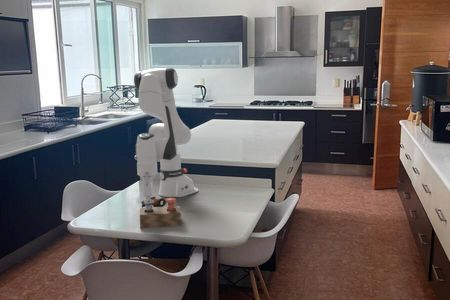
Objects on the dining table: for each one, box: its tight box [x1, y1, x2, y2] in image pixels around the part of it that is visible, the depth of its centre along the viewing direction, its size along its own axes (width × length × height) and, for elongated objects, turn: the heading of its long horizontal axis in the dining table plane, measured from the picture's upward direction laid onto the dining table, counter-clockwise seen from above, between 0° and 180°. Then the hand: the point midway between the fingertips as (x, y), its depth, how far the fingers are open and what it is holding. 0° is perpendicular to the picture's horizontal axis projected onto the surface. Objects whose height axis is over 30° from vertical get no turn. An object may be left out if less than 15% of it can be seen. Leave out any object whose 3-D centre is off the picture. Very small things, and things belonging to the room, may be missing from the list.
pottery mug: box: [140, 196, 167, 208], centre depth 229 cm, size 12×10×8 cm
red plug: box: [165, 197, 177, 211], centre depth 211 cm, size 5×5×7 cm
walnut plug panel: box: [139, 205, 182, 229], centre depth 211 cm, size 18×10×6 cm, turn 98°
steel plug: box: [143, 198, 154, 212], centre depth 209 cm, size 5×5×7 cm
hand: (148, 200), depth 209 cm, fingers closed, pressing on steel plug
